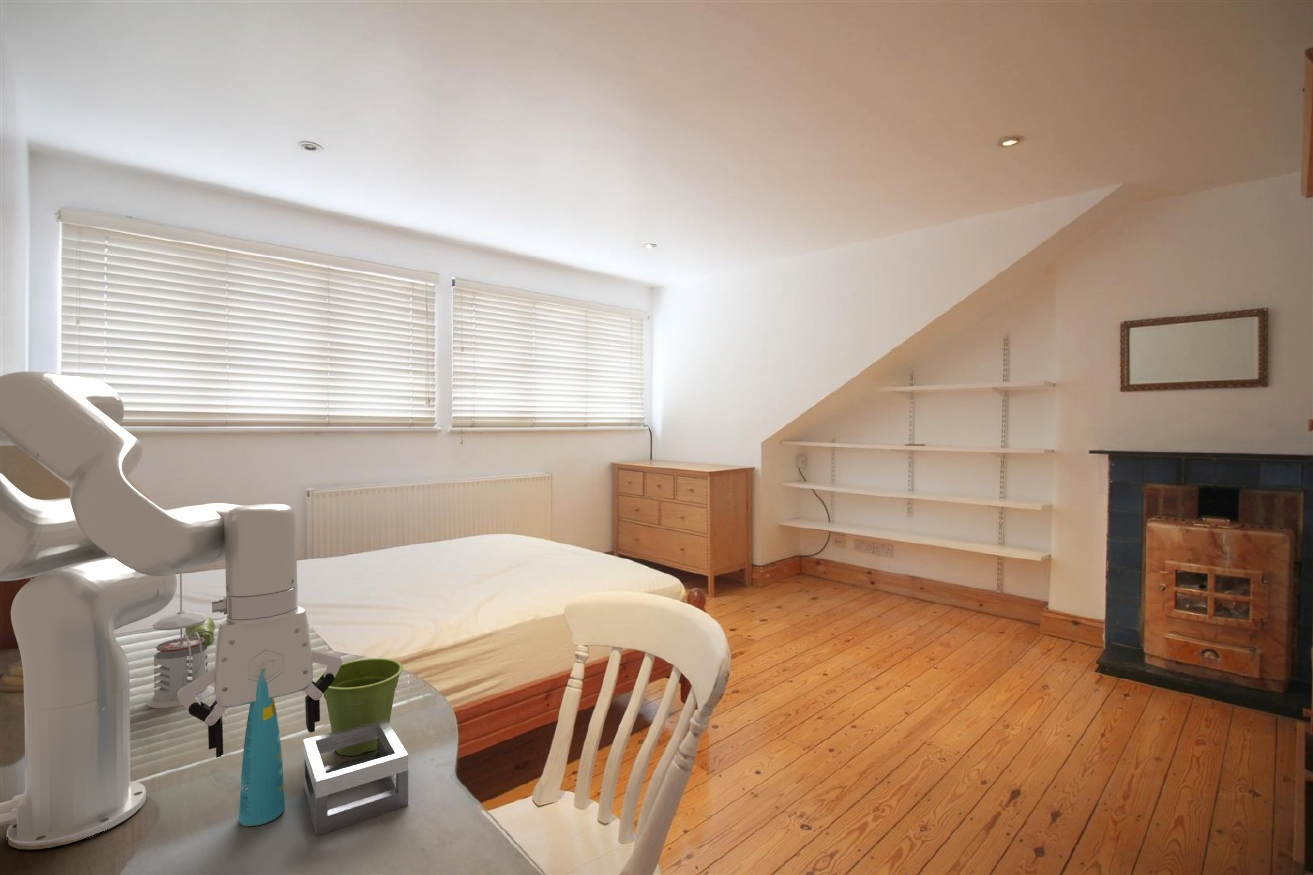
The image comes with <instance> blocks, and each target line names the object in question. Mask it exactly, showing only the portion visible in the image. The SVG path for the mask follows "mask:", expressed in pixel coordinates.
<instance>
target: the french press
mask: <svg viewBox="0 0 1313 875" xmlns="http://www.w3.org/2000/svg"><path fill="white" fill-rule="evenodd" d="M182 572H183V571H182ZM182 572H179V603H180V604H179V605H180V606H179V607H180V608H179V611H178V612H174V613H171V614H169V615H165V616H164V617H161V618H160V619H159V620H157V621H156V622H155V623H153V624H152V625H151V626H152V629H154V630H156V631H174V630H175V631H176V630H177V631H178V630H180V633H179V634H180V637H178V638H176V639H175V638H173V639H170V640H166V641H164V642H162V643H159V644H158V645H157V646H155V648H156V650H157V651H158V652H156V653H155V654H154V655H153V667H157V666H159V667H157V668H154V669H153V674H154V676H153V681H154V684H153V686H154V687H153V688H154V691H153V694H154V695H153V696H152V697H151V698H150V699H149V700H148V701H147V702H146V704H147V707H149V708H150V707H151V708H153V709H166V708H167V709H168V708H174V707H175V708H176V707H180V706H181V707H182V706H184V705H183V704H182V703H181V702H180V700H179V699H178V697H177V695H178V691H179V690H180V689H181V688H183V687H184V686H186V685H188V684H189V683H191V682H192V681H194V680H196V679H197V678H199V677H200V676H202V675H204V674H205V673H207V672H208V671H209V669H208V667H209V664H208V660H209V656H208V653H209V652H208V651H209V650H208V645H202V644H203V643H204V642H205V638H202V637H199V634H198V633H197V632H196V631H195V633H194V637H193V636H192V637H187V635H186V633H184V634H183V629H185V628H189V627H193V626H196V625H199V624H201V623H203V622H205V621H206V620H207V619H208V618H210V617H209V616H208V615H207V614H204V613H201V612H199V611H192V610H191V611H190V610H189V611H185V610H184V611H183V588H182V587H183V582H182V581H183V580H182V576H183V575H182ZM196 635H197V636H198V637H196ZM188 658H189V659H188ZM191 665H192V666H191ZM190 671H192V672H190ZM158 673H160V674H158ZM155 674H157V675H155ZM188 677H189V678H192V679H188ZM158 680H160V681H158ZM155 681H158V682H155ZM156 688H158V689H156ZM213 693H215V687H214V686H212V684H211V685H209V686H208V687H206V688H204V689H203V690H201V691H200V692H198V693H197V694H196V697H197V698H198V700H200V701H202V700H203V699H205V698H207V697H210V695H212V694H213Z"/></svg>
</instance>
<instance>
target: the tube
mask: <svg viewBox="0 0 1313 875" xmlns="http://www.w3.org/2000/svg"><path fill="white" fill-rule="evenodd" d="M264 672H265V669H264V671H263V672H262V674H261V675H260V677H259V680H258V684H257V690H256V701H255V702H254V703H250V704H249V709H248V715H247V721H246V728H245V736H244V742H243V743H244V744H243V753H242V764H241V774H240V790H239V807H238V808H239V809H238V823H240V825H242V826H246V827H249V826H250V827H253V826H260V825H264V824H266V823H269V822H272V821H273V820H275V819H278V818H279V816H280V815H282V814H283V813H284V811H285V809H286V808H285V807H286V801H285V800H286V799H285V782H284V779H285V778H284V766H283V755H282V754H283V752H282V743H281V735H280V727H279V720H278V713H277V706H276V702H275V698H272V699H270V698H269V694H268V686H267V682H266V680H265V678H264V676H263V675H264Z"/></svg>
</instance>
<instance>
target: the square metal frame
mask: <svg viewBox="0 0 1313 875" xmlns="http://www.w3.org/2000/svg"><path fill="white" fill-rule="evenodd" d="M374 739H377V749H376V751H377V752H373V753H370V754H366V755H362V756H359V757H355V758H352V759H347V760H345V761H341V762H338V763H334V764H330V765H326V766H324V764H323V760H322V758H321V755H322V754H325V753H329V752H334V751H336V750H337V749H341V748H344V747H348V746H352V745H355V744H359V743H363V742H366V741H370V740H374ZM381 779H383V780H384V782H385V784H386V786H387V788H388V790H387V791H384V792H381V793H378V794H375V795H371V796H368V797H365V798H362V799H359V800H355V801H352V802H350V803H347V804H343V805H340V806H337V807H334V808H331V809H329V808H328V806H329V805H328V796H330V795H333V794H335V793H336V794H337V793H339V792H342V791H345V790H349V789H351V788H355V787H358V786H361V785H362V786H363V785H366V784H369V783H370V782H374V781H377V780H381ZM303 790H304V794H305V798H306V801H307V805H308V808H309V809H308V810H309V814H310V816H311V821H312V825H313V829H314V832H315V837H318V836H322V835H325V834H327V833H329V832H334V831H337V830H339V829H342V828H345V827H348V826H350V825H354V824H357V823H359V822H362V821H366V820H369V819H371V818H374V817H377V816H381V815H383V814H387V813H389V812H390V813H391V812H392V811H395V810H398V809H401V808H404V807H406V806H409V754H408V752H407V750H406V748H404V745H403V744H402V742H401V741H400V739H399V737H398V736H397V734H396V733H395V731H394V729H393V727H392V725H391V724H390V723H388V721H387V719H382V720H378V721H374V722H370V723H367V724H363V725H359V726H355V727H351V728H347V729H343V730H339V731H335V732H332V731H331V732H328V733H323V734H320V735H316V736H312V737H309V738H304V739H303Z"/></svg>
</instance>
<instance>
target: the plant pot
mask: <svg viewBox="0 0 1313 875" xmlns="http://www.w3.org/2000/svg"><path fill="white" fill-rule="evenodd" d="M403 670H404V665H403V663H401V662H400V661H398V660H395V659H392V658H383V657H376V658H375V657H374V658H362V659H357V660H356V659H355V660H352V661H347V662H342V664H341V666H340V668H339V671H338V673H337V674H336V676H335V679H334V681H333V683H332V684H331V685H330V686H329V687H328V688H327V690H326V691H325V692H324V693H323V697H324V699H325V701H326V707H327V712H328V719H329V724H330V728H331V732H335V731H339V730H343V729H347V728H351V727H355V726H359V725H363V724H367V723H370V722H374V721H378V720H382V719H387V721H388V723H389V724H390V722H391V717H392V712H393V704H394V699H395V694H396V688H397V686H398V683H399V678H400V674H402V672H403ZM325 671H326V670H324V671H323V672H321V673H320V674H319V675H318V677H317V680H316V682H317V681H318V679H319V678H320V677H321V676H322V675H323V674H324V673H325ZM335 751H336V753H338V754H339V755H342V756H349V757H350V756H351V757H353V756H354V757H355V756H360V755H362V754H364V753H366V752H373V751H377V739H374V740H370V741H366V742H363V743H359V744H355V745H352V746H348V747H344V748H341V749H337V750H335Z"/></svg>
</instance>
